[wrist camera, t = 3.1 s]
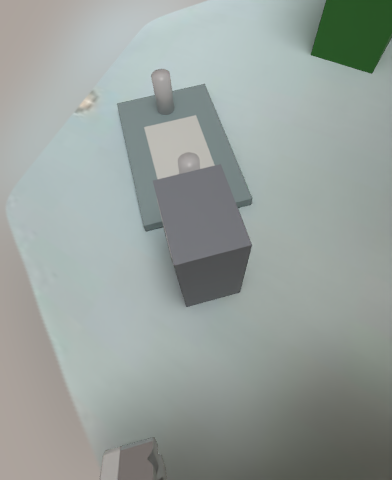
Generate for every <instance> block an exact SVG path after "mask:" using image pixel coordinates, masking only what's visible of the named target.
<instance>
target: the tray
mask: <svg viewBox="0 0 392 480" xmlns="http://www.w3.org/2000/svg"><path fill="white" fill-rule="evenodd" d="M151 77H152V83H153V88H154V93H155V95H153V96H149V97H144V98H140V99H135V100H131V101H126V102H122V103H118V104H117V105H118V110H119V115H120V119H121V124H122V128H123V133H124V138H125V142H126V147H127V151H128V156H129V160H130V165H131V170H132V174H133V179H134V183H135V188H136V193H137V197H138V202H139V206H140V211H141V215H142V220H143V225H144V228H145V230H146V231H149V230H153V229H157V228H161V227H164V226H163V222H162V218H161V214H160V210H159V206H158V202H157V196H156V192H155V188H154V184H153V180H157V179H162V178H166V177H170V176H174V175H178V174H182V173H186V172H190V171H194V170H198V169H203V168H207V167H211V166H215V165H219V164H221V166H222V168H223V171H224V174H225V176H226V179H227V181H228V184H229V187H230V189H231V192H232V194H233V197H234V200H235V202H236V205H237V207H238V208H239V207H243V206H247V205H251V203H252V196H251V194H250V192H249V189H248V187H247V184H246V182H245V180H244V177H243V175H242V172H241V170H240V168H239V165H238V163H237V160H236V158H235V156H234V153H233V151H232V148H231V146H230V144H229V141H228V139H227V136H226V134H225V132H224V129H223V127H222V124H221V122H220V120H219V117H218V115H217V112H216V110H215V108H214V105H213V103H212V100H211V98H210V96H209V93H208V91H207V88H206V86H205V84H202V85H198V86H193V87H189V88H184V89H180V90H175V91H172V86H171V79H170V73H169V71H167V70H165V69H158V70H155V71H154V72H153V73H152V75H151Z"/></svg>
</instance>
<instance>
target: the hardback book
mask: <svg viewBox="0 0 392 480" xmlns="http://www.w3.org/2000/svg"><path fill="white" fill-rule="evenodd" d="M391 38H392V0H326V3H325V7H324V10H323V14H322V17H321V21H320V24H319V28H318V31H317V35H316V38H315V42H314V45H313V49H312V52H311V55H313V56H316V57H319V58H322V59H326V60H329V61H332V62H336V63H339V64H342V65H345V66H349V67H352V68H355V69H358V70H362V71H365V72H368V73H373V71H374V69H375V67H376V65H377V63H378V62H379V60H380V58H381V56H382V54H383V52H384V51H385V49H386V47H387V45H388V43H389V41H390V40H391Z"/></svg>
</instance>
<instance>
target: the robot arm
mask: <svg viewBox="0 0 392 480" xmlns="http://www.w3.org/2000/svg"><path fill="white" fill-rule="evenodd" d="M100 480H167V475H166V468H165V464H164V461H163V458H162V455H160V454H158V444H157V441H156V439H155V437H152V438H148V439H145V440H141V441H138V442H134V443H130V444H127V445H123V446H120V447H117V448H113V449H110V450H106V451H105V453H104V455H103V460H102V467H101V474H100Z"/></svg>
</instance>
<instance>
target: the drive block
mask: <svg viewBox="0 0 392 480" xmlns="http://www.w3.org/2000/svg"><path fill="white" fill-rule="evenodd" d="M153 184H154V188H155V192H156V196H157V202H158V206H159V210H160V214H161V218H162V222H163V226H164V230H165V234H166V238H167V242H168V246H169V250H170V254H171V258H172V262H173V265H174V267H175V271H176V274H177V277H178V281H179V284H180V287H181V290H182V294H183V297H184V300H185V304H186V307H188V306H192V305H195V304H199V303H203V302H206V301H210V300H214V299H217V298H221V297H225V296H228V295H232V294H235V293H239V292H240V290H241V286H242V282H243V278H244V274H245V270H246V266H247V263H248V259H249V255H250V251H251V247H252V244H251V241H250V239H249V236H248V233H247V231H246V228H245V226H244V223H243V220H242V218H241V215H240V213H239V210H238V207H237V205H236V202H235V200H234V197H233V194H232V192H231V189H230V187H229V184H228V181H227V179H226V176H225V174H224V171H223V168H222V166H221V164H219V165H215V166H211V167H207V168H203V169H198V170H194V171H190V172H186V173H182V174H178V175H174V176H170V177H166V178H162V179H157V180H153Z"/></svg>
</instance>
